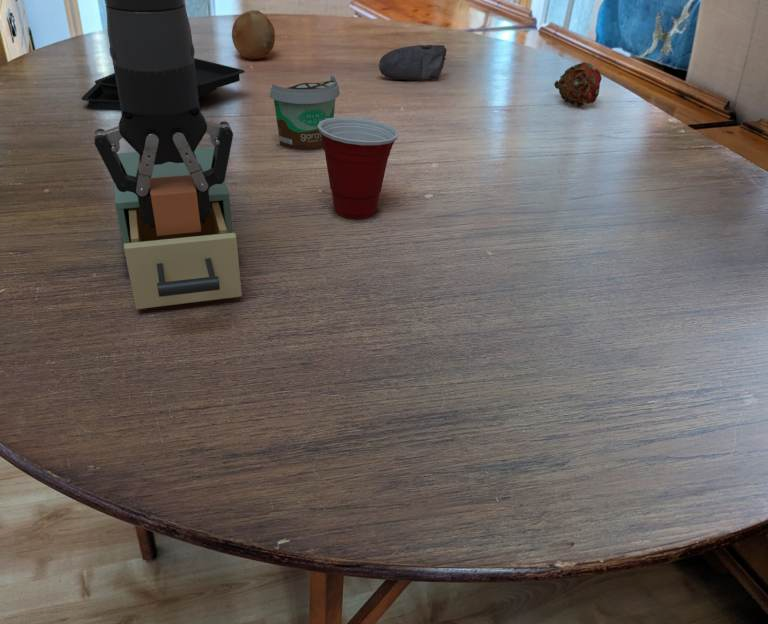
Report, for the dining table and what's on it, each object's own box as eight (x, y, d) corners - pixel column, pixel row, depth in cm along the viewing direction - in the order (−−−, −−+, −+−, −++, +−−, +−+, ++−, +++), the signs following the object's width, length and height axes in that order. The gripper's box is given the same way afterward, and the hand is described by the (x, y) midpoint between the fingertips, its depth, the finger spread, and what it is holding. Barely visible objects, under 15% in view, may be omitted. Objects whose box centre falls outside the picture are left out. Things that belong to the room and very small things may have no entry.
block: (201, 231, 78) (196, 191, 75) (157, 236, 77) (150, 195, 74) (197, 214, 82) (192, 174, 79) (154, 217, 80) (148, 178, 78)
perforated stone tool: (380, 83, 154) (381, 48, 150) (376, 76, 159) (377, 42, 154) (448, 82, 157) (451, 48, 152) (443, 76, 161) (446, 42, 156)
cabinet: (235, 263, 89) (229, 193, 84) (128, 275, 86) (114, 203, 80) (219, 211, 101) (213, 146, 95) (125, 219, 98) (112, 153, 92)
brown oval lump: (249, 51, 172) (245, 4, 166) (284, 57, 168) (282, 9, 162) (224, 59, 165) (220, 11, 159) (261, 66, 161) (258, 17, 155)
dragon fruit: (576, 121, 144) (564, 111, 154) (616, 95, 141) (601, 88, 152) (556, 83, 141) (545, 75, 151) (596, 56, 138) (582, 51, 149)
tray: (79, 118, 129) (72, 87, 126) (93, 81, 147) (88, 54, 144) (249, 114, 135) (247, 85, 132) (243, 79, 153) (241, 53, 150)
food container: (291, 157, 118) (288, 94, 112) (272, 146, 122) (269, 84, 116) (353, 144, 124) (354, 83, 118) (333, 133, 128) (333, 74, 122)
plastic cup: (409, 218, 101) (415, 133, 94) (340, 233, 97) (340, 144, 89) (371, 190, 109) (374, 109, 101) (306, 202, 104) (303, 118, 97)
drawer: (250, 323, 77) (244, 262, 72) (138, 338, 74) (125, 275, 70) (224, 239, 92) (219, 184, 88) (131, 248, 89) (120, 192, 85)
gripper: (224, 44, 73) (238, 203, 84) (74, 49, 70) (108, 214, 80) (234, 64, 68) (248, 231, 78) (72, 70, 64) (108, 244, 74)
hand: (177, 221), depth 79 cm, fingers closed on block, 4 cm apart
